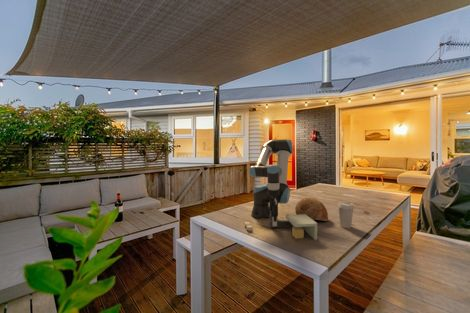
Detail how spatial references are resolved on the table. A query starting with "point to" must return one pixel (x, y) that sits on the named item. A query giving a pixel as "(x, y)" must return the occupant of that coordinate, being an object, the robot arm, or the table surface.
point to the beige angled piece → (304, 224)
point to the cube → (298, 232)
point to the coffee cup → (345, 214)
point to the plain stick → (248, 226)
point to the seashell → (312, 209)
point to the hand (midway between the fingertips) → (273, 224)
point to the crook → (279, 222)
